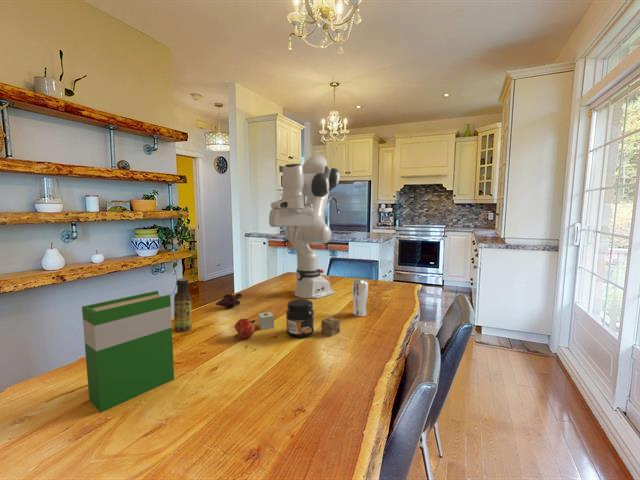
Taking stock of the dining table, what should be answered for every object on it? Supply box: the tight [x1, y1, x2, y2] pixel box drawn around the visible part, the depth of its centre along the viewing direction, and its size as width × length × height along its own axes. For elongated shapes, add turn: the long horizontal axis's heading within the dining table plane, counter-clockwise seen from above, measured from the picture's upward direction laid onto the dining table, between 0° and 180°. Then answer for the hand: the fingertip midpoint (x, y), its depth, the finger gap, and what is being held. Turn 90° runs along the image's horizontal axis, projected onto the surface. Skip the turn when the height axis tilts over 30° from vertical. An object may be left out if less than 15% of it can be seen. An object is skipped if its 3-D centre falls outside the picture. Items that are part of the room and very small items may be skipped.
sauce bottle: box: [173, 278, 192, 333], centre depth 120 cm, size 6×6×20 cm
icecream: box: [214, 293, 243, 310], centre depth 147 cm, size 7×7×15 cm
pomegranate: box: [233, 318, 257, 340], centre depth 114 cm, size 7×7×10 cm
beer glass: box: [351, 279, 369, 318], centre depth 139 cm, size 7×7×15 cm
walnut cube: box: [320, 316, 341, 337], centre depth 119 cm, size 5×5×5 cm
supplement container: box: [285, 298, 315, 339], centre depth 118 cm, size 10×10×12 cm
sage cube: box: [257, 311, 275, 331], centre depth 125 cm, size 5×5×5 cm
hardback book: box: [81, 290, 175, 413], centre depth 81 cm, size 18×7×24 cm, turn 143°
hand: (293, 237), depth 129 cm, fingers closed
